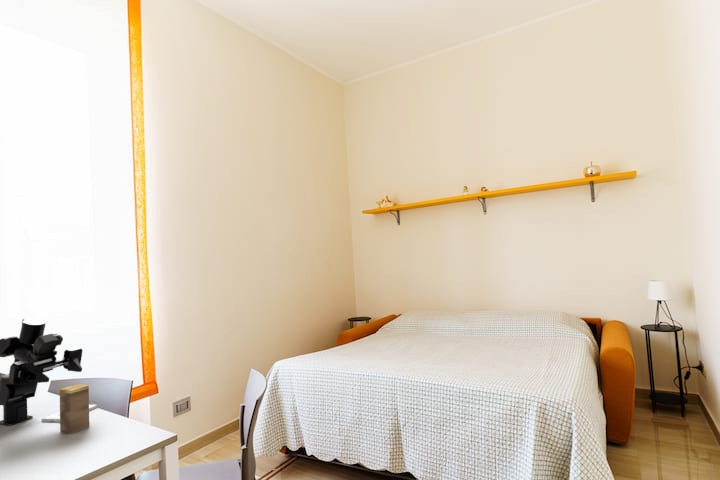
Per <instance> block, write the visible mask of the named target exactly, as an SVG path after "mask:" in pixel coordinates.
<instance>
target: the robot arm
mask: <svg viewBox="0 0 720 480" xmlns="http://www.w3.org/2000/svg"><path fill="white" fill-rule="evenodd" d="M46 324H47V321H46V320H45V319H37V318H30V317H29V318H22V321H21V328H20V333H19V335H15V336H9V337H3V338H0V358H6V357H10V356H13V358H14V361H13V363H12V364H11V365H10V366H9V373H7V374H6V373H3V372H0V406H3V407H2V408H3V409H2V410H3V411H2V412H3V414H2V415H3V416H2V418H3V419H2V420H0V425H6V426H12V425H16V424H19V423H21V422H24V421H28V420H30V419H33V418H34V416H33V415H29V414H28V399H30V398H35V396H36V392H37V388H38V384H39V383H40V384H41V383H49V381H50V378H49V376H48V375H47V374H45V373H46V372H50V371H53V370H54V369H56V368H59V367H63V369H65V370H67V371H69V372H74V373H75V372H76V373H82V371H83V367H82V365H81V363H82V355H83V349H82V347H81V348H80V347H79V346H75V347H72V348H71V347H70V348H67V349H65V350H64V352H63V356H62V357H60V358H57V357H56V355H58V350H56V348H57V346H61V345H62V343H63V341H64V338H63V336H62V335H61V334H59V333H49V334H44V333H45V328H46Z"/></svg>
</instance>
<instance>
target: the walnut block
mask: <svg viewBox="0 0 720 480" xmlns="http://www.w3.org/2000/svg"><path fill="white" fill-rule="evenodd" d="M89 387H90V386H89V384H78V383H77V384H73V385H70V386H67V387H63V388H59V412H60V422H59V428H60V429H59V431H60V433H63V434H68V435H73V434H76V433H78V432H81V431H84V430H86V429H88V428H90V411H89V405H90V391H89Z"/></svg>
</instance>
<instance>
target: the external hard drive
mask: <svg viewBox="0 0 720 480" xmlns="http://www.w3.org/2000/svg"><path fill="white" fill-rule="evenodd" d="M95 409H98V405H97V404H89V412H91V411H92V410H95ZM40 421H41V422H42V423H51V422H54V423H60V411H58V412H56V413H53V414H51V415H49V416H45V417H44V418H41V420H40Z"/></svg>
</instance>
